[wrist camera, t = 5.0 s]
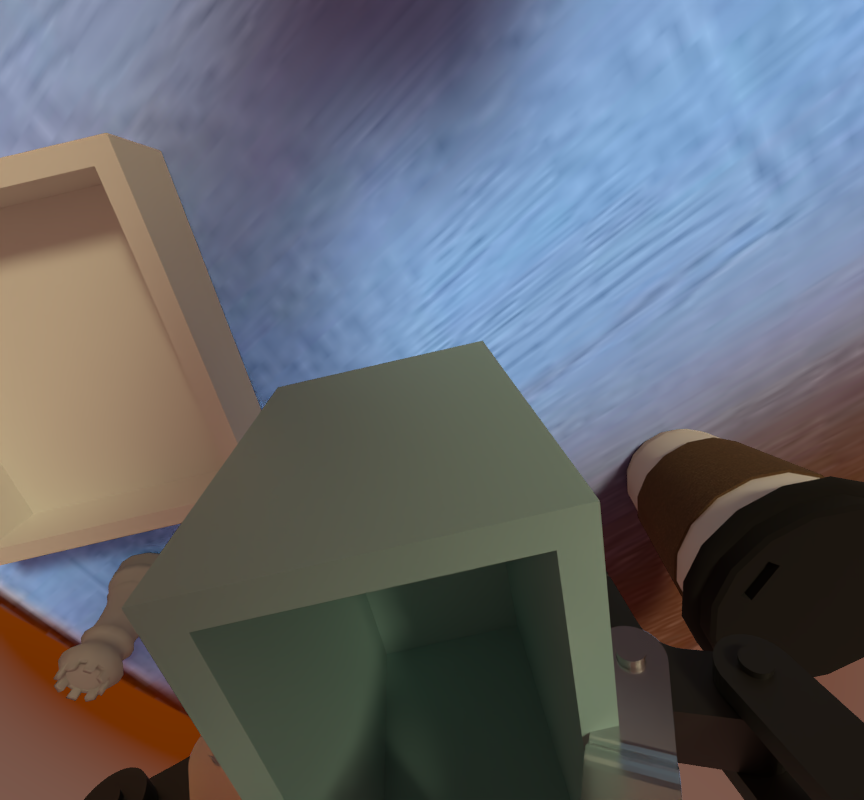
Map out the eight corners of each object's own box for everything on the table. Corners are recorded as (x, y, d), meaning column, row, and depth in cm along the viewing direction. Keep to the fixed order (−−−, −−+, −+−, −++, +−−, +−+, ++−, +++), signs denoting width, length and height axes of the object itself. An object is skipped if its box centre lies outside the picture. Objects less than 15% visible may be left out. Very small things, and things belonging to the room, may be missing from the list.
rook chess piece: (146, 536, 30) (63, 639, 22) (203, 573, 31) (143, 681, 24) (106, 576, 31) (14, 688, 23) (164, 610, 32) (94, 726, 25)
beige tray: (-154, 225, 22) (-280, 224, 18) (160, 150, 22) (106, 132, 18) (38, 520, 29) (-23, 570, 25) (282, 464, 29) (263, 504, 25)
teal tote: (277, 387, 13) (121, 607, 6) (482, 340, 13) (599, 501, 6) (375, 654, 17) (360, 987, 10) (531, 619, 17) (636, 927, 10)
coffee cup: (562, 508, 32) (654, 661, 21) (646, 369, 28) (810, 461, 17) (687, 552, 34) (830, 711, 23) (778, 428, 31) (998, 542, 20)
